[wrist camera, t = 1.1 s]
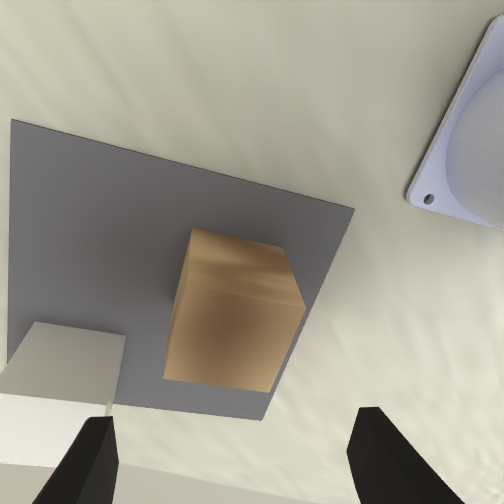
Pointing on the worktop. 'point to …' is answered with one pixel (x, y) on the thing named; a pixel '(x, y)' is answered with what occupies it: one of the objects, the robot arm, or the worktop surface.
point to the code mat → (142, 252)
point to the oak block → (232, 313)
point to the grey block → (55, 390)
